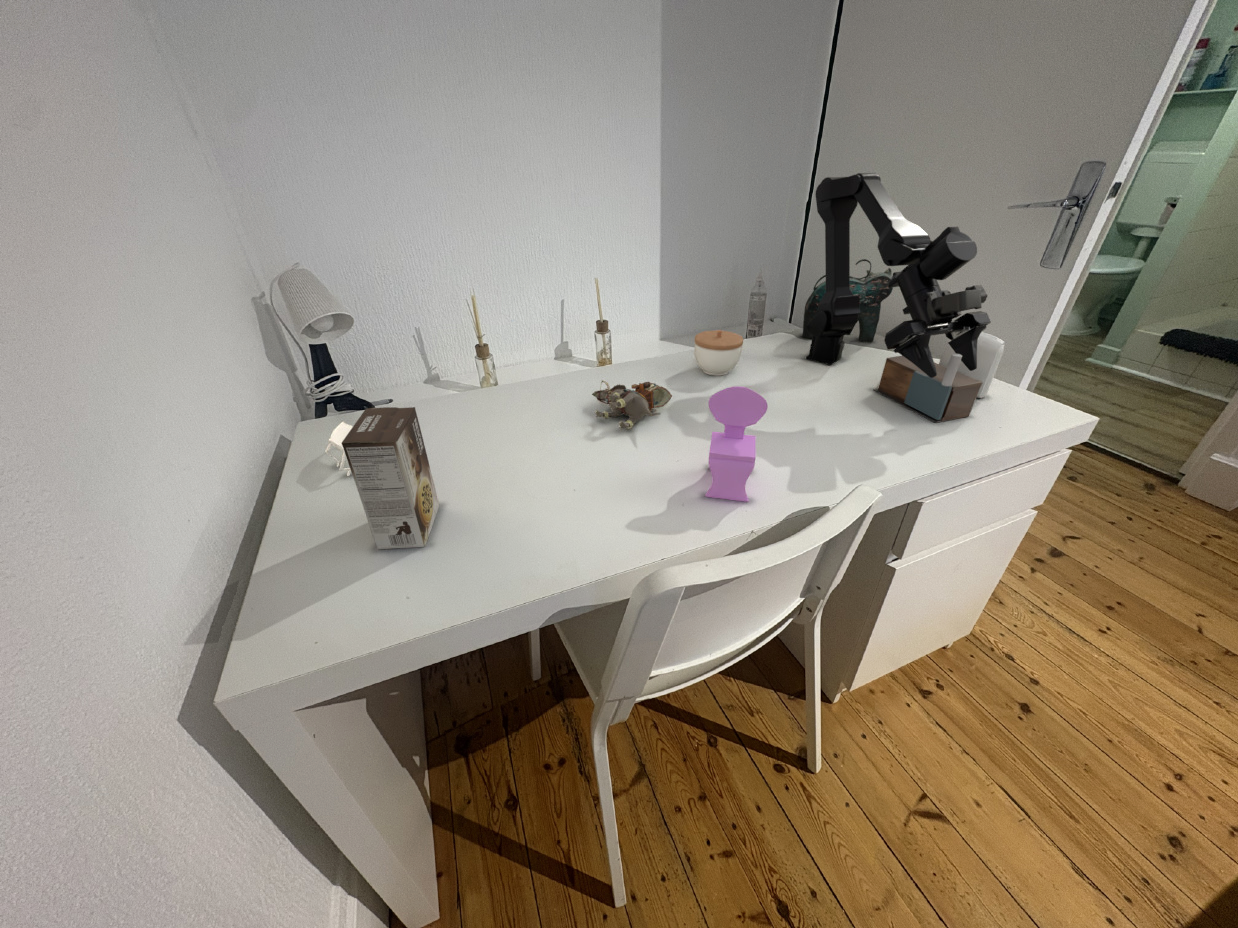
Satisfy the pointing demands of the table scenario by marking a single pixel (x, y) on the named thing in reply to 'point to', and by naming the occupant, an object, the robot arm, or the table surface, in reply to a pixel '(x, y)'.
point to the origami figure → (339, 443)
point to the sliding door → (932, 390)
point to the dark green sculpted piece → (870, 301)
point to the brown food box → (392, 476)
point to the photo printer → (979, 360)
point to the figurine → (632, 401)
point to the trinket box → (717, 351)
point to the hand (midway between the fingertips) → (954, 373)
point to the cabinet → (963, 386)
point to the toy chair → (733, 441)
